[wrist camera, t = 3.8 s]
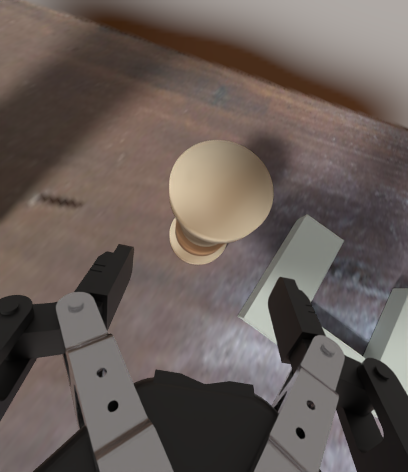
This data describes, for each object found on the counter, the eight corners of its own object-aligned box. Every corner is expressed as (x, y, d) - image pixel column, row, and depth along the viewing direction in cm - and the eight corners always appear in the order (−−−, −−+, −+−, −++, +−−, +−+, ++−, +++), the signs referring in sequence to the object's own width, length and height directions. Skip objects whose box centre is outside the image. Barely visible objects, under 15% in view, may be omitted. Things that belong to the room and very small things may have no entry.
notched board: (237, 316, 23) (243, 318, 21) (296, 219, 26) (307, 214, 24) (385, 423, 23) (405, 436, 21) (428, 313, 26) (448, 315, 24)
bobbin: (158, 242, 24) (146, 195, 12) (191, 200, 25) (209, 121, 14) (204, 276, 24) (237, 261, 12) (235, 231, 25) (291, 179, 14)
